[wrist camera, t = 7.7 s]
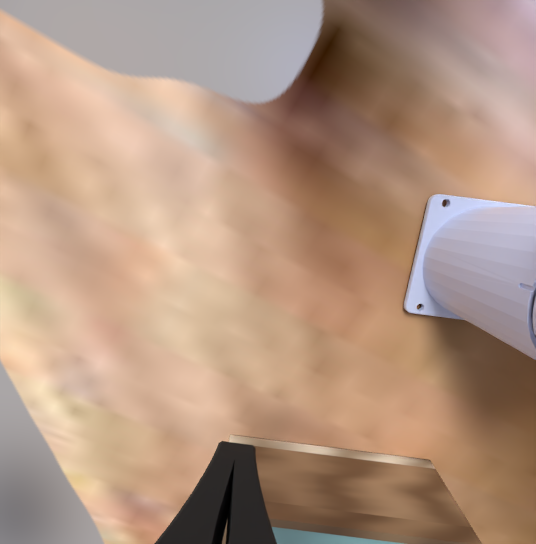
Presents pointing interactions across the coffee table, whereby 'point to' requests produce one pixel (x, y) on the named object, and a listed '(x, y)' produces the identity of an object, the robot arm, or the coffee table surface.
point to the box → (356, 494)
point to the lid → (318, 538)
